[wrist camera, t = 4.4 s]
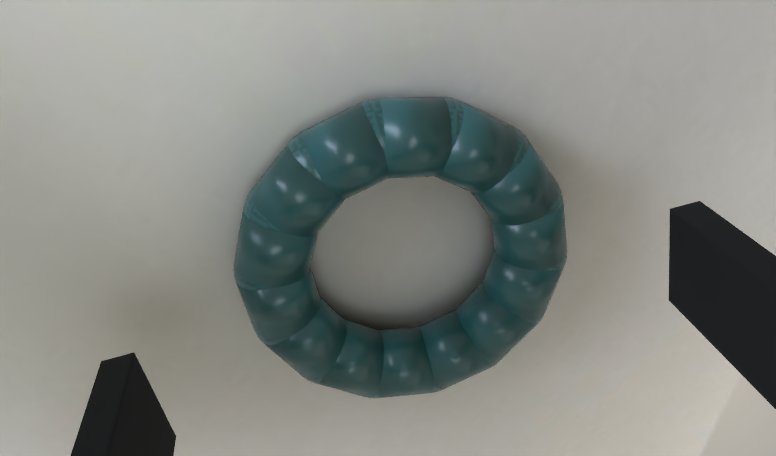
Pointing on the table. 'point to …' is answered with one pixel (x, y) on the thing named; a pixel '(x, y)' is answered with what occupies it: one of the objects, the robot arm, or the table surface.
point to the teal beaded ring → (362, 170)
